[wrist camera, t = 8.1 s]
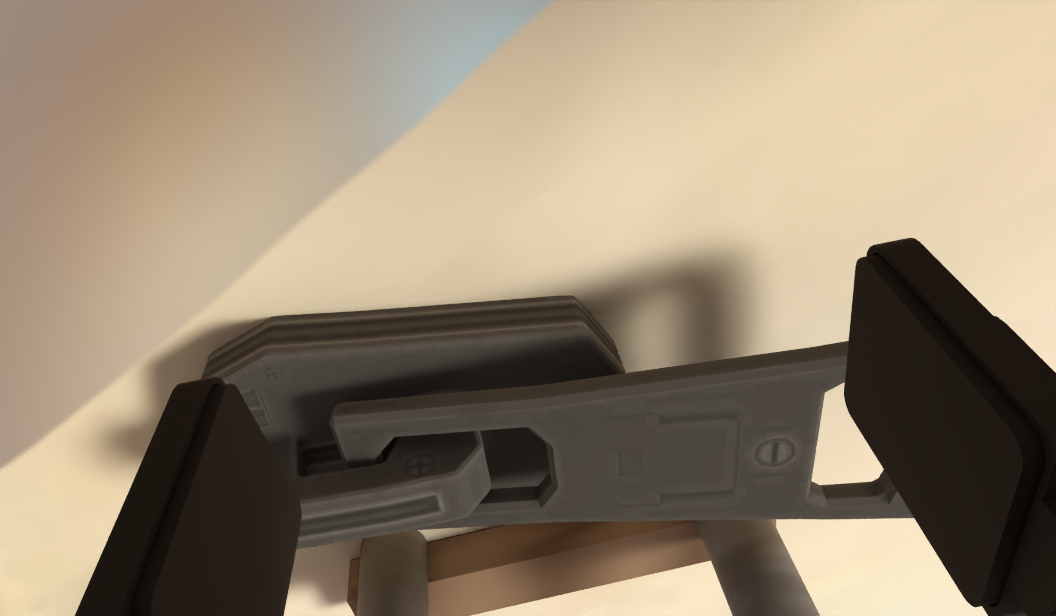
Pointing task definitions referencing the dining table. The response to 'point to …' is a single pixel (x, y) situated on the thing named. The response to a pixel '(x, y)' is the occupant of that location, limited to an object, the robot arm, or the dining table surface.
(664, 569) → the peg stop rail
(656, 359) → the dining table surface
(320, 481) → the zipper pull
